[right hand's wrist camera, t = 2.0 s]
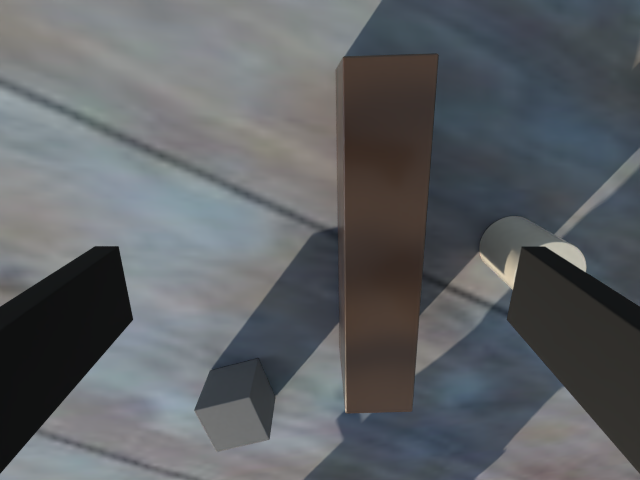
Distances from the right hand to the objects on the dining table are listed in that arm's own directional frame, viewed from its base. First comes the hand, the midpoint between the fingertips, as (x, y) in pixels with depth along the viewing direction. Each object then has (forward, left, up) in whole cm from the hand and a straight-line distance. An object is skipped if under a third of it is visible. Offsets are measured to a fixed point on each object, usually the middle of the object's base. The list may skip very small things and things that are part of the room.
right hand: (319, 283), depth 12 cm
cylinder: (+6, +16, -18) cm, 25 cm away
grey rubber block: (+20, -8, -18) cm, 28 cm away
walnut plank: (+4, +4, -18) cm, 19 cm away
